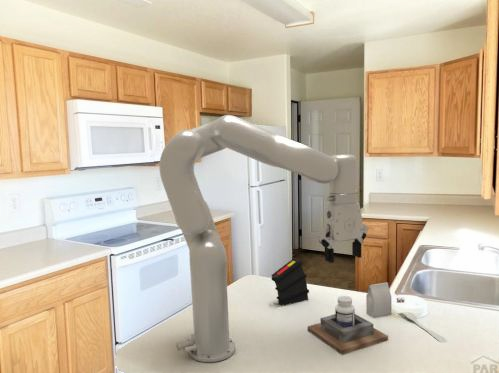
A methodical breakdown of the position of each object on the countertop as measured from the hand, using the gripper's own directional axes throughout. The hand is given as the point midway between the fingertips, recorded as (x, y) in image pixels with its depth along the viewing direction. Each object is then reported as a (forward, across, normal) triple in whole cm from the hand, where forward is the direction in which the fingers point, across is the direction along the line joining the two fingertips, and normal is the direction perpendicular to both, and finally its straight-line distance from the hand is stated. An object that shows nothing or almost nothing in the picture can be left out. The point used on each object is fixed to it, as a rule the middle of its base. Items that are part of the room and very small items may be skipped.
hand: (343, 259), depth 113 cm
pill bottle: (+21, 0, 0) cm, 21 cm away
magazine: (+23, 0, +28) cm, 36 cm away
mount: (+22, +1, 0) cm, 22 cm away
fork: (+23, +23, -7) cm, 33 cm away
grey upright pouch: (+22, +19, +6) cm, 30 cm away
